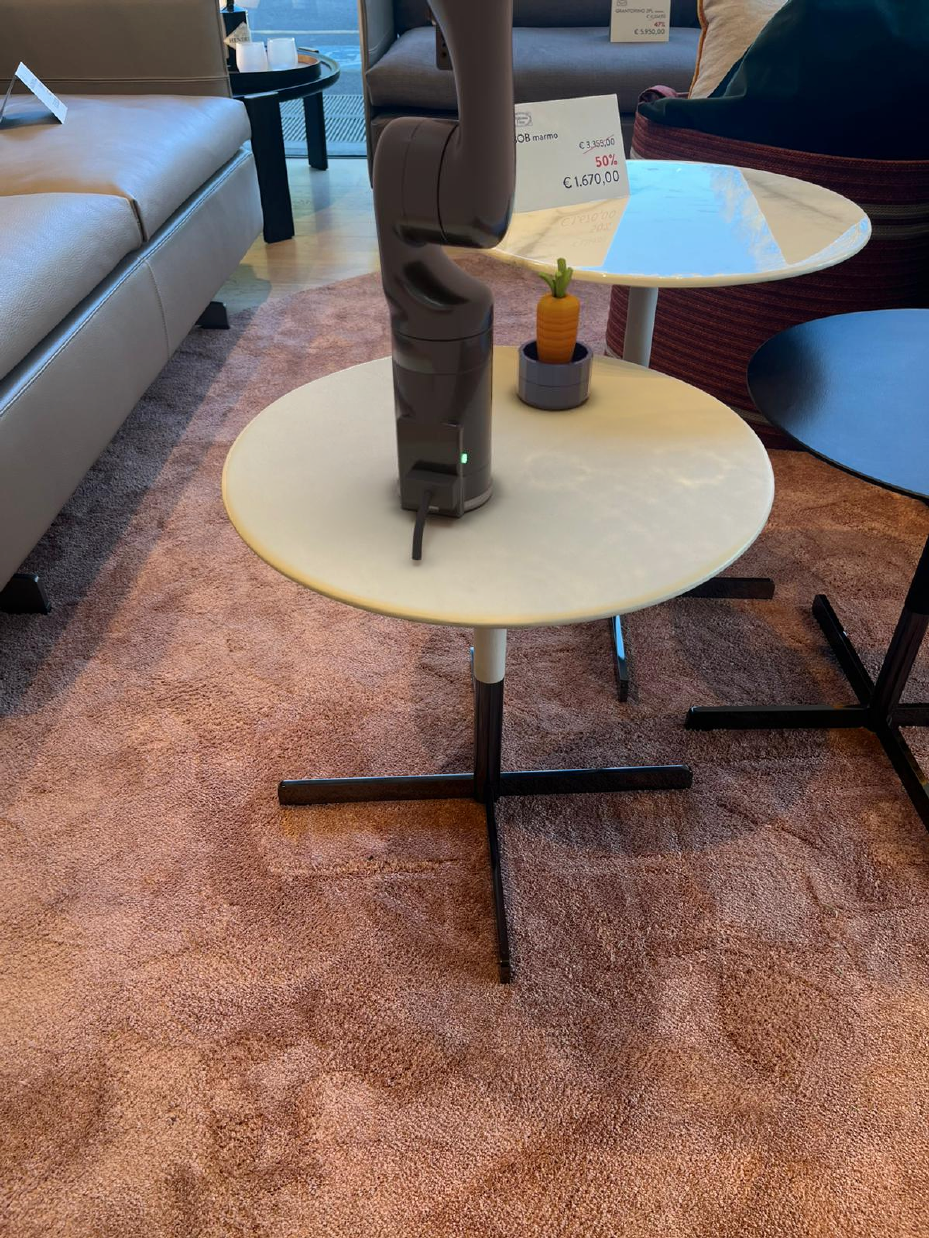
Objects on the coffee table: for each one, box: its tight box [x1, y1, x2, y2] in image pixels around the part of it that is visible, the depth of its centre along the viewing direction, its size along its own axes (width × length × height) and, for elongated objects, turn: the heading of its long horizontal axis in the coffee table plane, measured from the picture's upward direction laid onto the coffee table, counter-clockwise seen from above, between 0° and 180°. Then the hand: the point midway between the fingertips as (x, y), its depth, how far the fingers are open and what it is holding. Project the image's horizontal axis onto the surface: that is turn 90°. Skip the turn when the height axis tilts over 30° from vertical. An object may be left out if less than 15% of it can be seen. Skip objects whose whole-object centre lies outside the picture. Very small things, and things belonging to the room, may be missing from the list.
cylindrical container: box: [516, 338, 594, 411], centre depth 108 cm, size 9×9×6 cm
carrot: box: [535, 257, 581, 364], centre depth 105 cm, size 5×5×15 cm
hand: (460, 64), depth 96 cm, fingers open, 8 cm apart
